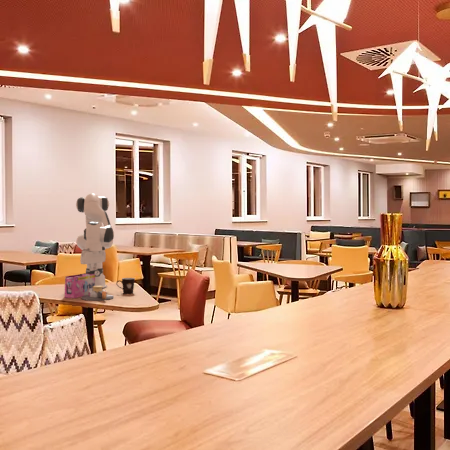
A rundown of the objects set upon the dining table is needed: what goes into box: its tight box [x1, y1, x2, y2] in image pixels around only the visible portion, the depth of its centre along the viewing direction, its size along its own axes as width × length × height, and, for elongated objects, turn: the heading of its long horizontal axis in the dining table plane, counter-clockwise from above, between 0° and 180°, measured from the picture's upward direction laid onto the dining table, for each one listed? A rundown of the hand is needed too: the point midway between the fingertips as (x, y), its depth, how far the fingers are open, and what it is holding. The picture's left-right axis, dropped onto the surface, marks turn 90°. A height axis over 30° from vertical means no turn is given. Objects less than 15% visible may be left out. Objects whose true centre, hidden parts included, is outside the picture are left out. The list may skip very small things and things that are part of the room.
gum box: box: [64, 272, 95, 299], centre depth 370 cm, size 24×8×14 cm, turn 157°
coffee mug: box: [116, 277, 135, 295], centre depth 384 cm, size 12×9×10 cm
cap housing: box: [80, 286, 114, 302], centre depth 361 cm, size 20×20×8 cm
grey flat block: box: [88, 288, 108, 299], centre depth 357 cm, size 20×11×5 cm, turn 30°
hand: (93, 270), depth 347 cm, fingers closed
